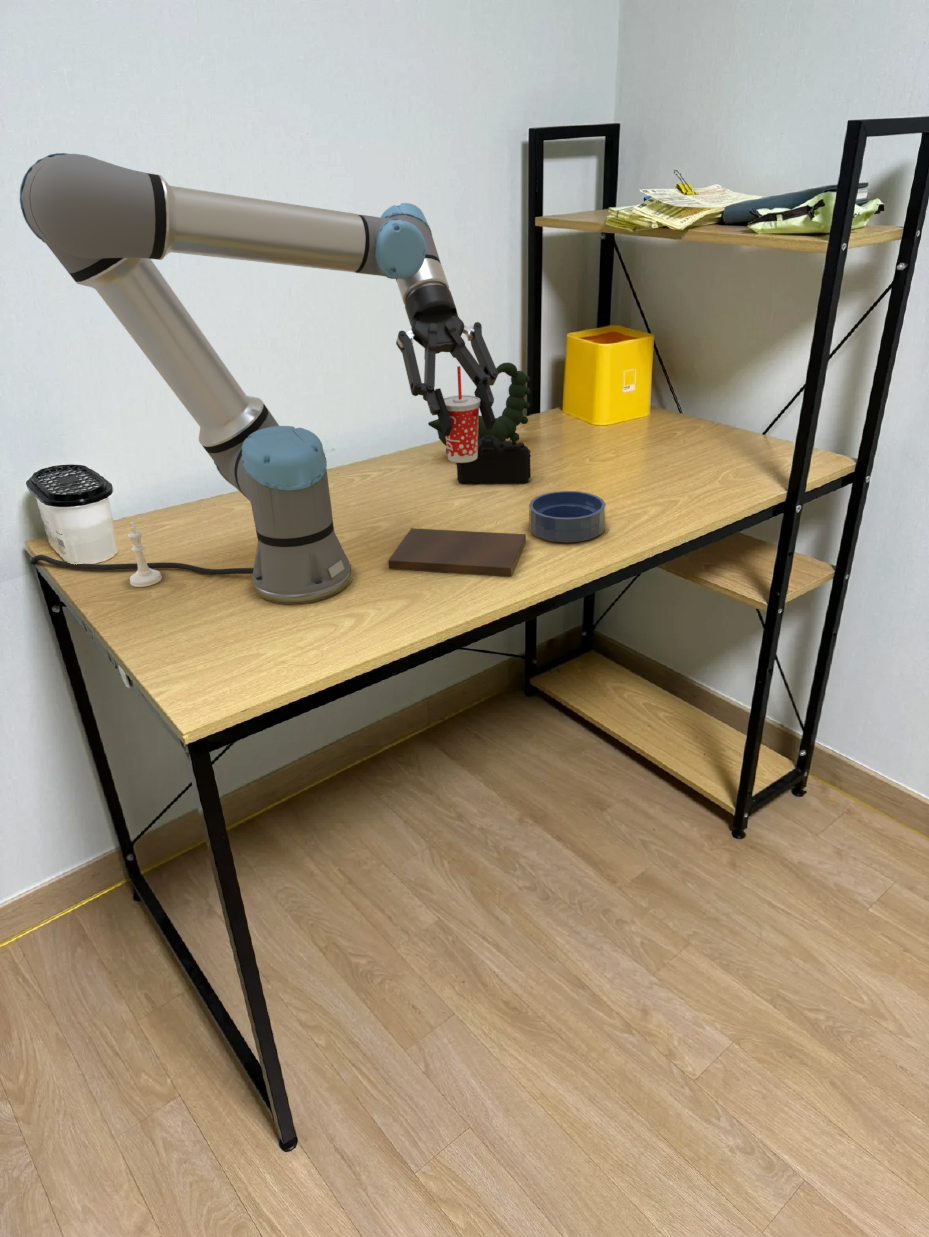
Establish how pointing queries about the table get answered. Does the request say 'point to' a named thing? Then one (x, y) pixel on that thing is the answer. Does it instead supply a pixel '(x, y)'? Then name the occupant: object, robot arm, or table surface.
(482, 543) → the board
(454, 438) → the beverage cup
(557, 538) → the bowl
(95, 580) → the table surface
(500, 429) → the toy figurine
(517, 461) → the film camera
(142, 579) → the chess piece
